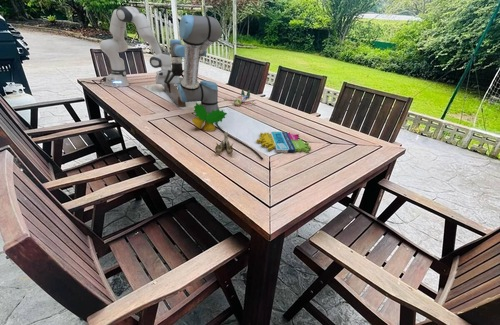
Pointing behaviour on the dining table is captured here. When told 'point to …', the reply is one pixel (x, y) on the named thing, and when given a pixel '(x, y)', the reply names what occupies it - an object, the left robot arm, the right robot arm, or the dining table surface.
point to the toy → (241, 99)
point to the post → (174, 95)
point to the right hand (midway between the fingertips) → (178, 91)
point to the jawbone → (224, 145)
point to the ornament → (207, 117)
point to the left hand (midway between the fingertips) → (168, 88)
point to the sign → (283, 142)
